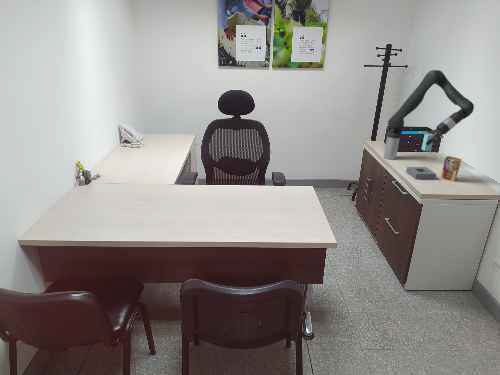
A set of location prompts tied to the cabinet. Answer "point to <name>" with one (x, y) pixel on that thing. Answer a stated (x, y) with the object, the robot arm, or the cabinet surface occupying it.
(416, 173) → the socket block
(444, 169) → the candy box
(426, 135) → the teal peg
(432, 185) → the cabinet surface
